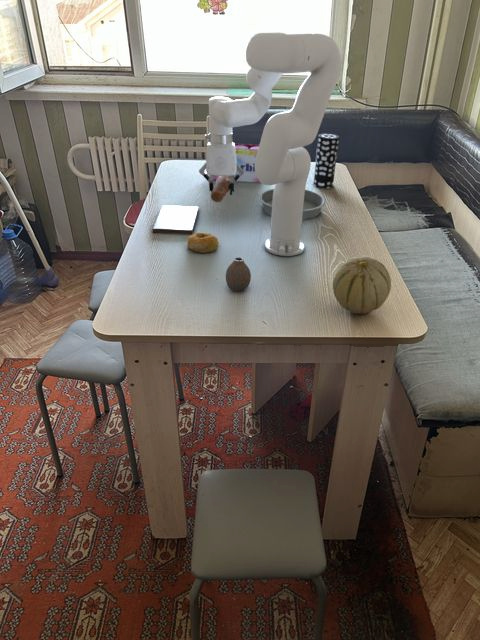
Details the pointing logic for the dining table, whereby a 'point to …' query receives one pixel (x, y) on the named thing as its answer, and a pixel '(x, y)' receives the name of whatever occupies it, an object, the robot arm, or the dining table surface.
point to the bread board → (176, 220)
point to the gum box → (246, 161)
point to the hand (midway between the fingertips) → (221, 193)
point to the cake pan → (310, 204)
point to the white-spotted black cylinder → (326, 160)
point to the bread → (220, 188)
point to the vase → (238, 275)
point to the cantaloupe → (361, 284)
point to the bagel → (202, 242)
